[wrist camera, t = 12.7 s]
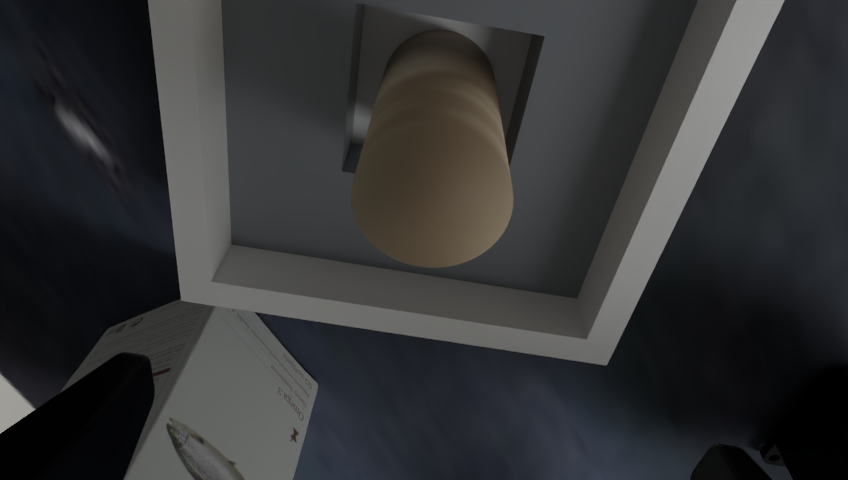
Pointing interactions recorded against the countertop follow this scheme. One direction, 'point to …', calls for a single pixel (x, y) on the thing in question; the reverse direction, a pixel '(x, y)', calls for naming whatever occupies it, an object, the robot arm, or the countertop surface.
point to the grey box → (524, 138)
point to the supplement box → (212, 394)
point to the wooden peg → (434, 155)
